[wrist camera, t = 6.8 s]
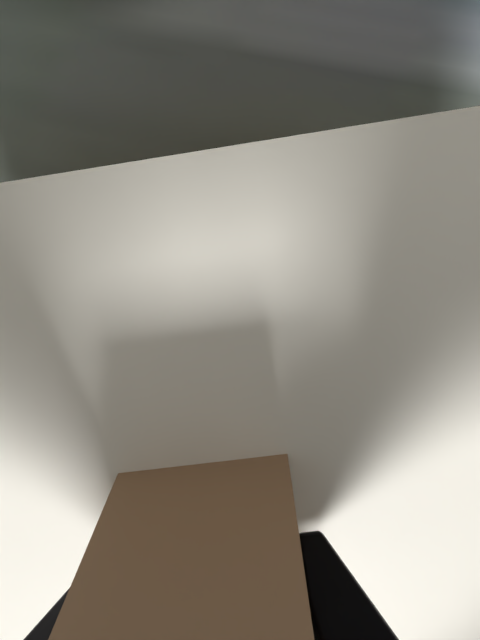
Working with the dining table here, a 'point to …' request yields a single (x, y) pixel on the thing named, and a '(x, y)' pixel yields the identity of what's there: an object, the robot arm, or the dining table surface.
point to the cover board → (244, 385)
